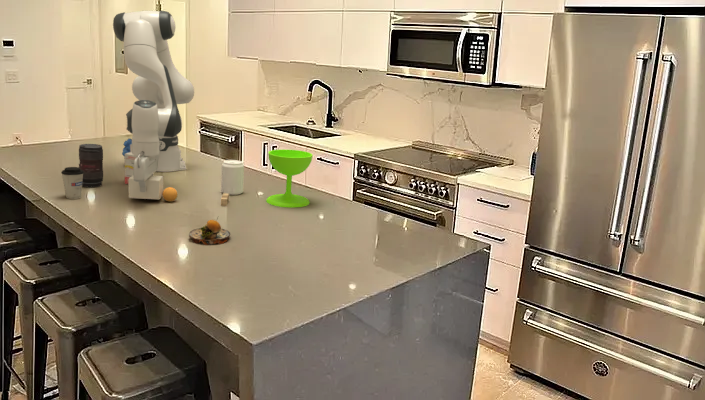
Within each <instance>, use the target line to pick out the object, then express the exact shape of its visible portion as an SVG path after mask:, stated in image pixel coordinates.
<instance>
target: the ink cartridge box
mask: <svg viewBox="0 0 705 400" xmlns="http://www.w3.org/2000/svg"><path fill="white" fill-rule="evenodd" d="M135 159H136V156H135V155H133V154H132V144H130V152H129V153H126V154H125V159H124V184H125V185H129V181H128V179H129V178H130V177H131V176H133V171H134V160H135Z"/></svg>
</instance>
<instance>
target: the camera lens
mask: <svg viewBox="0 0 705 400" xmlns="http://www.w3.org/2000/svg"><path fill="white" fill-rule="evenodd" d="M78 160H79V163H78V167H79V168H80V170H83V172H84V173H83V181H82V188H83V187H84V188H98V187H101V186H102V185H103V180H104V167H103V166H104V165H103V164H104V149H103V145H102V144H99V143H98V144H97V143H83V144H82V143H81V144H79V147H78Z"/></svg>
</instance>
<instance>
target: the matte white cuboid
mask: <svg viewBox="0 0 705 400" xmlns="http://www.w3.org/2000/svg"><path fill="white" fill-rule="evenodd" d="M128 181H129V184H128V198H129V199H144V200H146V199H147V200H160V199H161V198H162V197H163V195H162V194H163V191H164V176H163V175H153V176H152V175H151V176H150V177H149V178H148V179H147V180H146V191H145V192H140V186H139V182H136V181H134V178H133V176H131V177H130V178H129V179H128Z"/></svg>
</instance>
